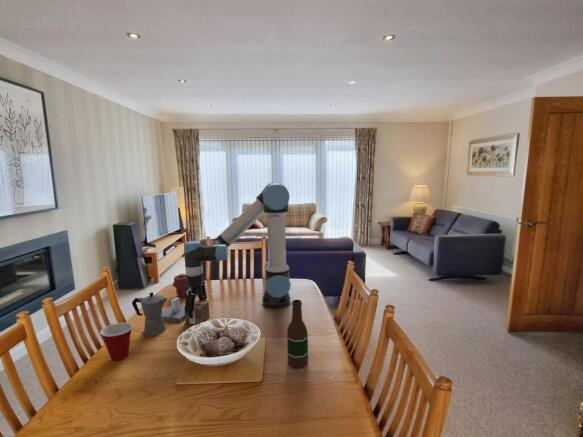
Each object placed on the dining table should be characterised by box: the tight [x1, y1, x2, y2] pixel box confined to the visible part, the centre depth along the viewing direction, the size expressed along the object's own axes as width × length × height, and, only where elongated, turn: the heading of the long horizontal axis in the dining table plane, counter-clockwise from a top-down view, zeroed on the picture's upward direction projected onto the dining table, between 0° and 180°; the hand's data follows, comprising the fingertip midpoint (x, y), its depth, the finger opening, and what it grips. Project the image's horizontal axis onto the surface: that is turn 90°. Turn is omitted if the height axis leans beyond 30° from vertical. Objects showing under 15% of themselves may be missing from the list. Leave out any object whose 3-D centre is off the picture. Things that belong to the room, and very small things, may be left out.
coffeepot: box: [131, 292, 168, 337], centre depth 129 cm, size 15×9×18 cm, turn 92°
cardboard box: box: [184, 299, 210, 325], centre depth 139 cm, size 8×8×8 cm
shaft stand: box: [162, 296, 185, 323], centre depth 144 cm, size 13×12×8 cm
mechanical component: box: [172, 273, 189, 299], centre depth 167 cm, size 12×10×10 cm
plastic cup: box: [99, 322, 134, 362], centre depth 111 cm, size 11×11×12 cm
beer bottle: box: [286, 299, 309, 369], centre depth 105 cm, size 8×8×24 cm
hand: (197, 319), depth 139 cm, fingers closed on cardboard box, 8 cm apart
